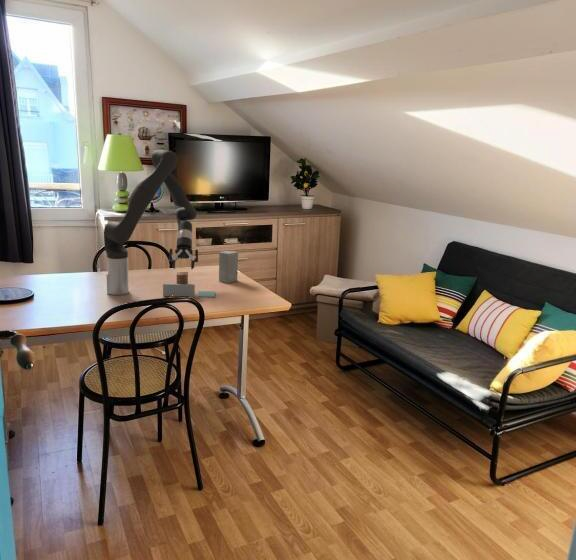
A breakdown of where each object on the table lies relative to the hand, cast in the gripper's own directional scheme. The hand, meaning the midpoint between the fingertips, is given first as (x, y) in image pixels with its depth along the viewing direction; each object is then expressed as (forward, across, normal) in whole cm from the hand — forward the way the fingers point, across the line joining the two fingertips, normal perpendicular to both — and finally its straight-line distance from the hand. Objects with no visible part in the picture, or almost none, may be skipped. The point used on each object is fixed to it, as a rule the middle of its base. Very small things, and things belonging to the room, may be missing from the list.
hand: (183, 268), depth 254 cm
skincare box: (-4, +23, +20) cm, 30 cm away
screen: (+16, -1, -1) cm, 16 cm away
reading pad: (+13, +12, +2) cm, 18 cm away
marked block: (+12, 0, +3) cm, 13 cm away
